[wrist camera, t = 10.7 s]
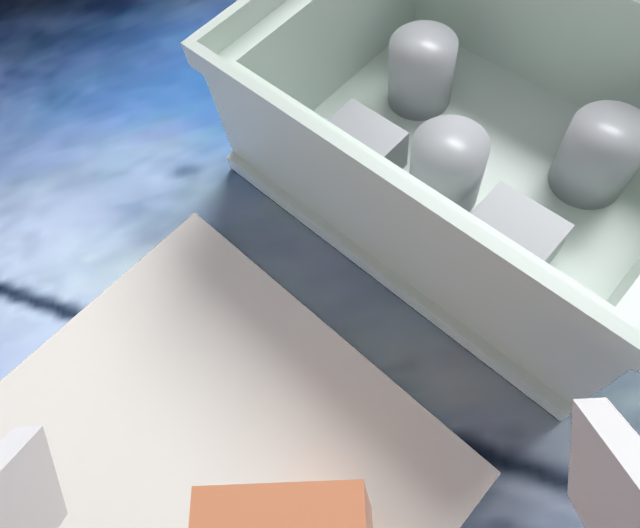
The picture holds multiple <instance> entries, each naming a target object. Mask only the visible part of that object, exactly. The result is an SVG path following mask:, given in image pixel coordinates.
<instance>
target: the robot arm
mask: <svg viewBox="0 0 640 528" xmlns="http://www.w3.org/2000/svg"><path fill="white" fill-rule="evenodd" d="M567 496H568V497H569V499H570V501H571V503H572V505H573V507H574V508H575V510H576V512H577V514H578V516H579V518H580V519H581V521H582V523H583V525H584V527H585V528H640V436H639V435H638V434H637V432H636V431H635V430H634V429H633V428H632V427H631V425H630V424H629V423H628V422H627V421H626V420H625V418H624V417H623V416H622V415H621V414H620V413H619V411H618V410H617V409H616V408H615V407H614V406H613V404H612V403H611V402H610V401H609V400H608V399H607V397H605V398H585V399H573V404H572V422H571V439H570V457H569V474H568V491H567ZM67 514H68V512H67V509H66V505H65V502H64V498H63V495H62V491H61V488H60V484H59V481H58V477H57V474H56V470H55V467H54V463H53V460H52V456H51V453H50V449H49V446H48V442H47V439H46V435H45V432H44V428H43V426H27V427H14V428H13V429H12V430H11V431H10V432H9V433H8V434H7V435H6V436H5V437H4V438H3V439H2V440H1V441H0V528H59V526H60V525H61V523H62V522H63V520H64V519H65V517H66V516H67Z"/></svg>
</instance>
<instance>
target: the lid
mask: <svg viewBox="0 0 640 528" xmlns="http://www.w3.org/2000/svg"><path fill="white" fill-rule="evenodd" d="M27 426H43V428H44V432H45V435H46V439H47V442H48V446H49V449H50V453H51V456H52V460H53V463H54V467H55V470H56V474H57V477H58V481H59V484H60V488H61V491H62V495H63V498H64V502H65V505H66V509H67V512H68V514H67V516H66V517H65V519H64V520H63V522H62V523H61V525H60V526H59V528H460V527H461V526H462V524H463V523H464V522H465V520H466V519H467V518H468V516H469V515H470V514H471V512H472V511H473V510H474V508H475V507H476V506H477V504H478V503H479V502H480V500H481V499H482V498H483V496H484V495H485V494H486V492H487V491H488V490H489V488H490V487H491V486H492V484H493V483H494V482H495V480H496V479H497V478H498V476H499V475H500V474H501V472H499V471H498V470H497V469H496V468H495V467H494V466H492V465H491V464H490V463H489V462H488V461H487V460H485V459H484V458H483V457H482V456H481V455H479V454H478V453H477V452H476V451H475V450H474V449H472V448H471V447H470V446H469V445H468V444H467V443H465V442H464V441H463V440H462V439H461V438H459V437H458V436H457V435H456V434H455V433H454V432H452V431H451V430H450V429H449V428H448V427H447V426H445V425H444V424H443V423H442V422H441V421H440V420H438V419H437V418H436V417H435V416H434V415H432V414H431V413H430V412H429V411H428V410H427V409H425V408H424V407H423V406H422V405H421V404H420V403H418V402H417V401H416V400H415V399H414V398H412V397H411V396H410V395H409V394H408V393H407V392H405V391H404V390H403V389H402V388H401V387H400V386H398V385H397V384H396V383H395V382H394V381H393V380H391V379H390V378H389V377H388V376H387V375H385V374H384V373H383V372H382V371H381V370H380V369H378V368H377V367H376V366H375V365H374V364H373V363H371V362H370V361H369V360H368V359H367V358H366V357H364V356H363V355H362V354H361V353H360V352H358V351H357V350H356V349H355V348H354V347H353V346H351V345H350V344H349V343H348V342H347V341H346V340H344V339H343V338H342V337H341V336H340V335H338V334H337V333H336V332H335V331H334V330H333V329H331V328H330V327H329V326H328V325H327V324H326V323H324V322H323V321H322V320H321V319H320V318H319V317H317V316H316V315H315V314H314V313H313V312H311V311H310V310H309V309H308V308H307V307H306V306H304V305H303V304H302V303H301V302H300V301H299V300H297V299H296V298H295V297H294V296H293V295H291V294H290V293H289V292H288V291H287V290H286V289H284V288H283V287H282V286H281V285H280V284H279V283H277V282H276V281H275V280H274V279H273V278H272V277H270V276H269V275H268V274H267V273H266V272H264V271H263V270H262V269H261V268H260V267H259V266H257V265H256V264H255V263H254V262H253V261H252V260H250V259H249V258H248V257H247V256H246V255H244V254H243V253H242V252H241V251H240V250H239V249H237V248H236V247H235V246H234V245H233V244H232V243H230V242H229V241H228V240H227V239H226V238H225V237H223V236H222V235H221V234H220V233H219V232H217V231H216V230H215V229H214V228H213V227H212V226H210V225H209V224H208V223H207V222H206V221H205V220H203V219H202V218H201V217H200V216H199V215H197V214H196V213H195V212H194V213H193V214H192V215H191V216H190V217H189V218H188V219H186V220H185V221H184V222H183V223H182V224H181V225H179V226H178V227H177V228H176V229H175V230H174V231H173V232H171V233H170V234H169V235H168V236H167V237H166V238H164V239H163V240H162V241H161V242H160V243H159V244H158V245H156V246H155V247H154V248H153V249H152V250H151V251H150V252H148V253H147V254H146V255H145V256H144V257H143V258H141V259H140V260H139V261H138V262H137V263H136V264H135V265H133V266H132V267H131V268H130V269H129V270H128V271H126V272H125V273H124V274H123V275H122V276H121V277H120V278H118V279H117V280H116V281H115V282H114V283H113V284H111V285H110V286H109V287H108V288H107V289H106V290H105V291H103V292H102V293H101V294H100V295H99V296H98V297H97V298H95V299H94V300H93V301H92V302H91V303H90V304H88V305H87V306H86V307H85V308H84V309H83V310H82V311H80V312H79V313H78V314H77V315H76V316H75V317H73V318H72V319H71V320H70V321H69V322H68V323H67V324H65V325H64V326H63V327H62V328H61V329H60V330H58V331H57V332H56V333H55V334H54V335H53V336H52V337H50V338H49V339H48V340H47V341H46V342H45V343H43V344H42V345H41V346H40V347H39V348H38V349H37V350H35V351H34V352H33V353H32V354H31V355H30V356H29V357H27V358H26V359H25V360H24V361H23V362H22V363H20V364H19V365H18V366H17V367H16V368H15V369H14V370H12V371H11V372H10V373H9V374H8V375H7V376H5V377H4V378H3V379H2V380H1V381H0V441H1V440H2V439H3V438H4V437H5V436H6V435H7V434H8V433H9V432H10V431H11V430H12V429H13V428H14V427H27Z"/></svg>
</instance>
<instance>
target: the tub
mask: <svg viewBox="0 0 640 528" xmlns="http://www.w3.org/2000/svg"><path fill="white" fill-rule="evenodd" d="M181 45H182V48H183V50H184V53H185V55H186V58H187V60H188V63H189V65H190V66H191V67H192V68H194V69H195V70H197V71H198V72H200V73H201V74H203V75H204V77H205V79H206V82H207V85H208V87H209V90H210V92H211V95H212V98H213V100H214V103H215V106H216V108H217V111H218V113H219V116H220V119H221V121H222V124H223V127H224V129H225V132H226V134H227V137H228V140H229V142H230V145H231V148H232V150H233V152H232V153H231V154H230V155H228V156H227V159H228V162H229V164H230V167H231V169H233V170H234V171H235V172H237V173H238V174H239V175H241V176H242V177H243V178H244V179H246V180H247V181H248V182H250V183H251V184H252V185H254V186H255V187H256V188H257V189H259V190H260V191H261V192H263V193H264V194H265V195H267V196H268V197H269V198H270V199H272V200H273V201H274V202H276V203H277V204H278V205H280V206H281V207H282V208H283V209H285V210H286V211H287V212H289V213H290V214H291V215H293V216H294V217H295V218H296V219H298V220H299V221H300V222H302V223H303V224H304V225H306V226H307V227H308V228H309V229H311V230H312V231H313V232H315V233H316V234H317V235H319V236H320V237H321V238H323V239H324V240H325V241H326V242H328V243H329V244H330V245H332V246H333V247H334V248H336V249H337V250H338V251H339V252H341V253H342V254H343V255H345V256H346V257H347V258H349V259H350V260H351V261H352V262H354V263H355V264H356V265H358V266H359V267H360V268H362V269H363V270H364V271H365V272H367V273H368V274H369V275H371V276H372V277H373V278H375V279H376V280H377V281H378V282H380V283H381V284H382V285H384V286H385V287H386V288H388V289H389V290H390V291H391V292H393V293H394V294H395V295H397V296H398V297H399V298H401V299H402V300H403V301H404V302H406V303H407V304H408V305H410V306H411V307H412V308H414V309H415V310H416V311H417V312H419V313H420V314H421V315H423V316H424V317H425V318H427V319H428V320H429V321H430V322H432V323H433V324H434V325H436V326H437V327H438V328H440V329H441V330H442V331H443V332H445V333H446V334H447V335H449V336H450V337H451V338H453V339H454V340H455V341H456V342H458V343H459V344H460V345H462V346H463V347H464V348H466V349H467V350H468V351H470V352H471V353H472V354H473V355H475V356H476V357H477V358H479V359H480V360H481V361H483V362H484V363H485V364H486V365H488V366H489V367H490V368H492V369H493V370H494V371H496V372H497V373H498V374H499V375H501V376H502V377H503V378H505V379H506V380H507V381H509V382H510V383H511V384H512V385H514V386H515V387H516V388H518V389H519V390H520V391H522V392H523V393H524V394H525V395H527V396H528V397H529V398H531V399H532V400H533V401H535V402H536V403H537V404H538V405H540V406H541V407H542V408H544V409H545V410H546V411H548V412H549V413H550V414H551V415H553V416H554V417H555V418H557V419H558V420H559V421H562V420H564V419H565V418H567V417H568V416H569V415H570V413H571V412H572V404H573V399H585V398H589V397H591V396H592V395H594V394H595V393H597V392H598V391H600V390H601V389H603V388H604V387H606V386H607V385H609V384H610V383H612V382H613V381H614V380H616V379H617V378H619V377H620V376H622V375H623V374H625V373H626V372H628V371H629V370H631V369H632V370H633V371H635V372H637V371H638V370H640V0H237V1H236V2H235V3H233V4H232V5H231V6H229V7H228V8H227V9H225V10H224V11H223V12H221V13H220V14H219V15H217V16H216V17H215V18H213V19H212V20H210V21H209V22H208V23H206V24H205V25H204V26H202V27H201V28H200V29H198V30H197V31H196V32H194V33H193V34H192V35H190V36H189V37H188V38H186V39H185V40H184V41H182V42H181Z"/></svg>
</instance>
